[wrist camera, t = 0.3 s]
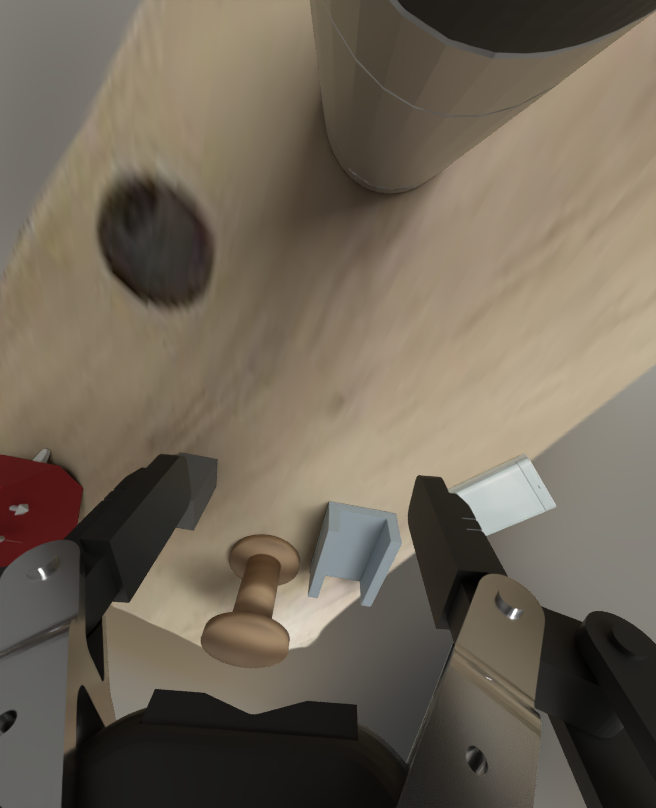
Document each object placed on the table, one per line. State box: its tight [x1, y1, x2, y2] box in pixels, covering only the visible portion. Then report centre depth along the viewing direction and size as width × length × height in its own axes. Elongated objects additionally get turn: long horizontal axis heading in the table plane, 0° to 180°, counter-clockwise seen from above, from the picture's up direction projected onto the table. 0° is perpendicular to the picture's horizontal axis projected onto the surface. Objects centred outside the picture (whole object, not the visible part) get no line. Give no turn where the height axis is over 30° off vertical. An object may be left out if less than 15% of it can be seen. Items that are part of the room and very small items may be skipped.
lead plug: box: [176, 452, 218, 530], centre depth 30 cm, size 4×4×7 cm
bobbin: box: [201, 535, 300, 668], centre depth 36 cm, size 9×9×10 cm
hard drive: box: [448, 453, 556, 536], centre depth 34 cm, size 2×8×12 cm
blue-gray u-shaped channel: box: [308, 501, 402, 606], centre depth 36 cm, size 12×8×4 cm, turn 168°
